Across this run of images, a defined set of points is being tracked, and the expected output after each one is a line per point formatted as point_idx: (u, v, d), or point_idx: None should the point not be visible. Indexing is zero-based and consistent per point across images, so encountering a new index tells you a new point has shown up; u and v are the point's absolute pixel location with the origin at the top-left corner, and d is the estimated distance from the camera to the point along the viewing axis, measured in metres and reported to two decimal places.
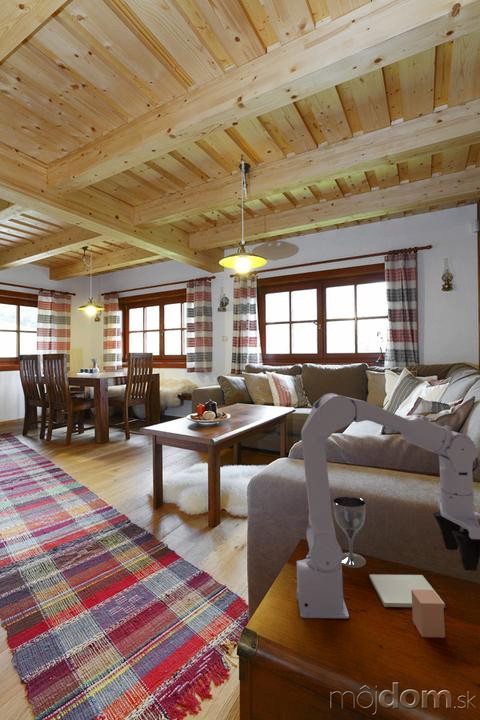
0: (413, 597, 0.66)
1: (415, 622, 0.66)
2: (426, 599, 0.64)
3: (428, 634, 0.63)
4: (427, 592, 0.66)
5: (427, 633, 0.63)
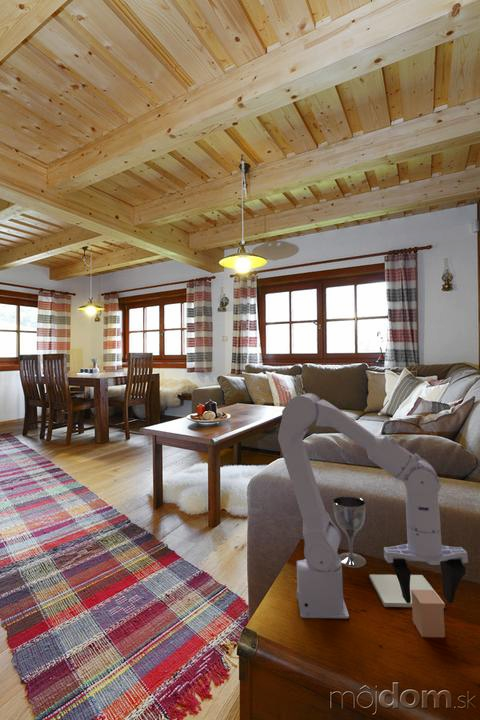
0: (413, 597, 0.66)
1: (415, 622, 0.66)
2: (426, 599, 0.64)
3: (428, 634, 0.63)
4: (427, 592, 0.66)
5: (427, 633, 0.63)
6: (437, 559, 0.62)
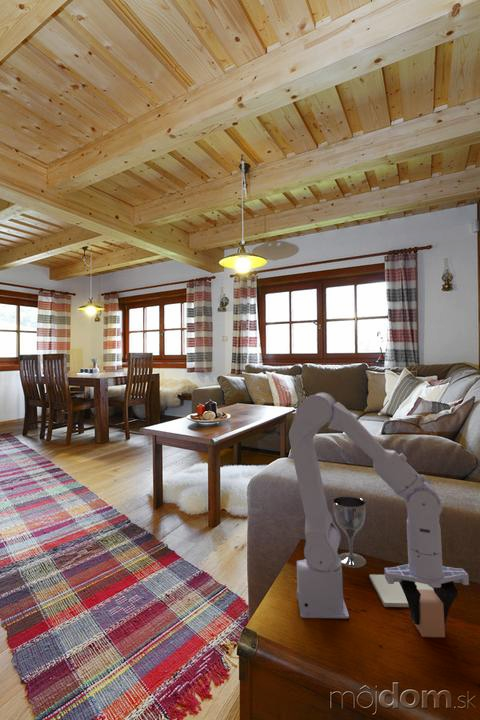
0: None
1: None
2: (426, 599, 0.64)
3: (428, 633, 0.63)
4: (427, 592, 0.66)
5: (427, 633, 0.63)
6: (438, 581, 0.62)
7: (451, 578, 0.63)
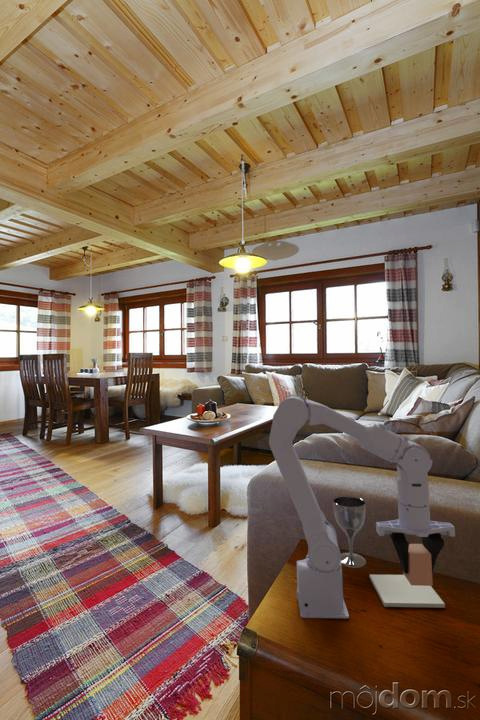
0: None
1: None
2: (415, 551, 0.68)
3: (417, 582, 0.67)
4: (416, 545, 0.70)
5: (416, 582, 0.67)
6: (425, 532, 0.66)
7: (438, 529, 0.67)
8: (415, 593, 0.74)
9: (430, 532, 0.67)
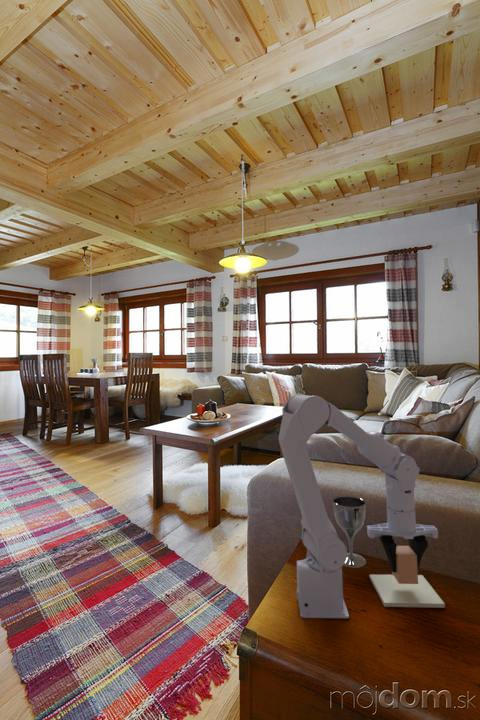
0: None
1: (393, 573, 0.76)
2: (402, 552, 0.75)
3: (404, 581, 0.74)
4: (404, 547, 0.77)
5: (403, 580, 0.74)
6: (411, 534, 0.73)
7: (423, 532, 0.74)
8: (415, 593, 0.74)
9: (415, 534, 0.74)
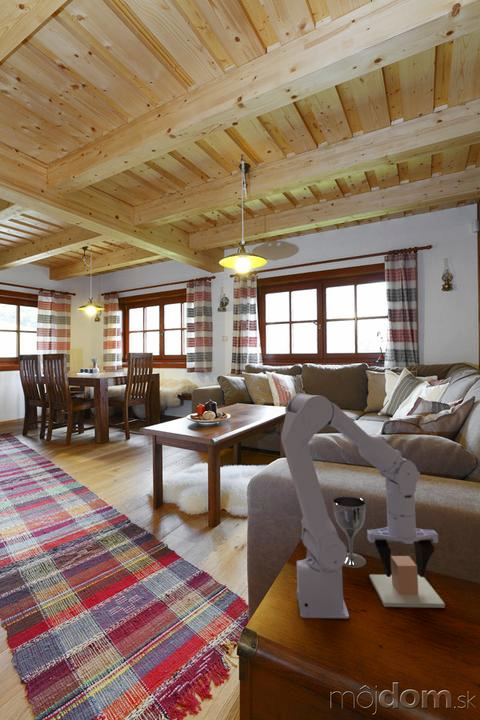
0: (392, 562, 0.77)
1: (394, 583, 0.76)
2: (403, 563, 0.75)
3: (404, 592, 0.74)
4: (404, 558, 0.77)
5: (403, 591, 0.74)
6: (411, 539, 0.73)
7: (423, 537, 0.74)
8: None
9: (415, 539, 0.74)
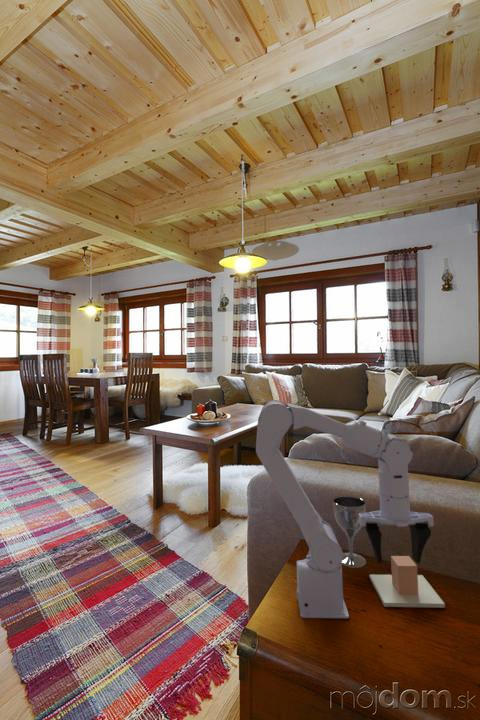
0: (392, 562, 0.77)
1: (394, 583, 0.76)
2: (403, 563, 0.75)
3: (404, 592, 0.74)
4: (404, 558, 0.77)
5: (403, 591, 0.74)
6: (405, 522, 0.68)
7: (417, 520, 0.70)
8: None
9: (410, 522, 0.69)
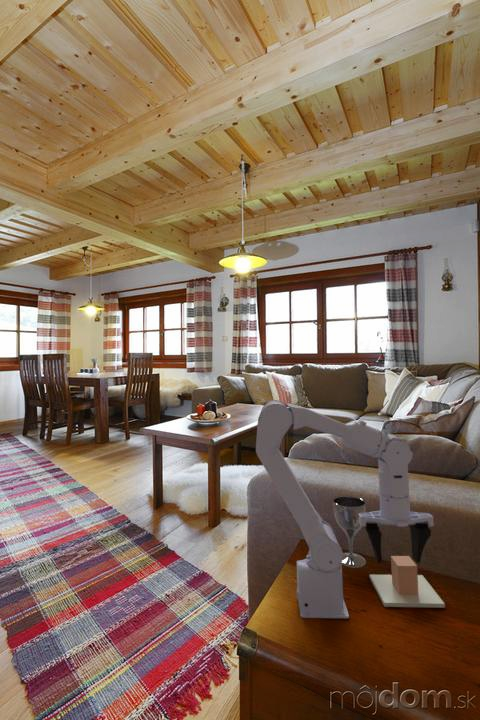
0: (392, 562, 0.77)
1: (394, 583, 0.76)
2: (403, 563, 0.75)
3: (404, 592, 0.74)
4: (404, 558, 0.77)
5: (403, 591, 0.74)
6: (405, 522, 0.68)
7: (417, 520, 0.70)
8: None
9: (410, 522, 0.69)
